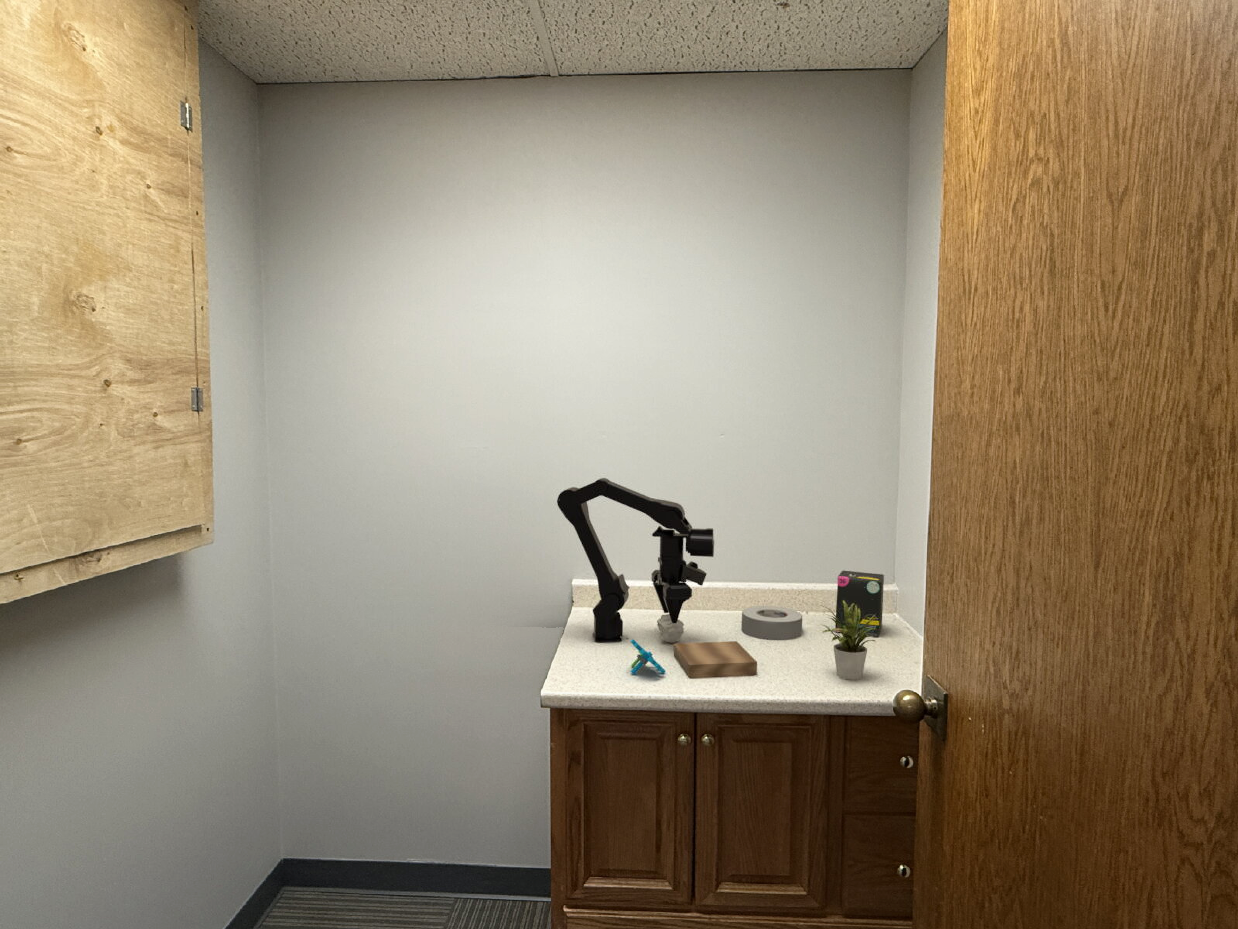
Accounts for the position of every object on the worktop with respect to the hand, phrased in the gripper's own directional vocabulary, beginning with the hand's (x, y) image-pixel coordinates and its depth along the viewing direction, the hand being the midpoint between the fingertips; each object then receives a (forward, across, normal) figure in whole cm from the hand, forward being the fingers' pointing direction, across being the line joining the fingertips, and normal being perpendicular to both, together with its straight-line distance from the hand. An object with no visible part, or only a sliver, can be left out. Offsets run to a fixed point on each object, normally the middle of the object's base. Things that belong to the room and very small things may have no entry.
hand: (670, 618), depth 196 cm
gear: (+6, -21, +10) cm, 24 cm away
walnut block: (+7, -18, -6) cm, 20 cm away
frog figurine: (+6, 0, 0) cm, 6 cm away
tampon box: (+6, +4, -51) cm, 52 cm away
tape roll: (+6, +6, -28) cm, 29 cm away
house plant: (+6, -27, -33) cm, 43 cm away
